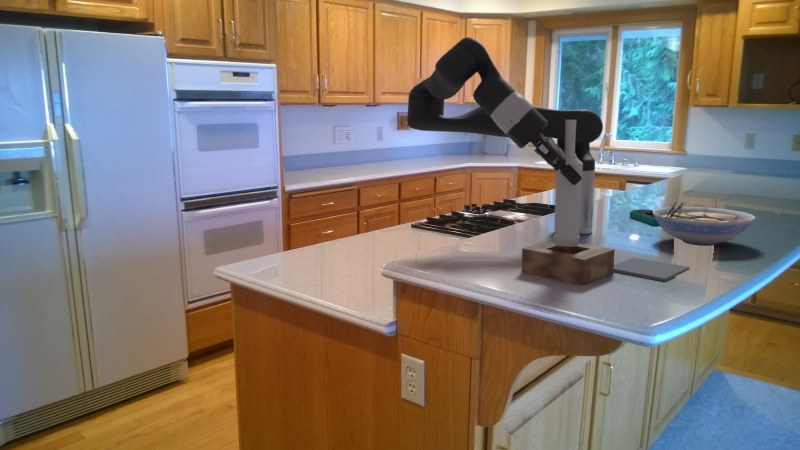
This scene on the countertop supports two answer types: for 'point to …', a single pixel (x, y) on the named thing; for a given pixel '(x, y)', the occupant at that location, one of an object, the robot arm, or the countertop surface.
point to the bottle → (568, 195)
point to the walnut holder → (568, 262)
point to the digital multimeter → (644, 216)
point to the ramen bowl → (702, 224)
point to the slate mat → (649, 269)
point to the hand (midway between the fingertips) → (578, 179)
